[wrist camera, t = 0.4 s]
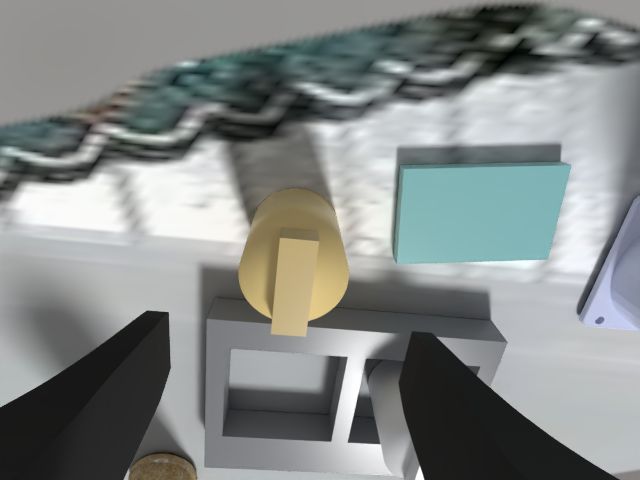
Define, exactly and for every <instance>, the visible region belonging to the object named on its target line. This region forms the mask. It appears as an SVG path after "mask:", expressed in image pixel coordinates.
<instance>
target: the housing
mask: <svg viewBox="0 0 640 480" xmlns="http://www.w3.org/2000/svg"><path fill="white" fill-rule="evenodd" d="M271 326H272V319H271V318H269V317H267V316H265V315H263V314H261V313H260V312H258V311H257V310H256V309H255V308H254V307H252V305H251V304H250V303H249V302H248V301H247V300H239V299H227V298H214V300H213V303H212V306H211V309H210V311H209V314H208V317H207V333H206V398H205V463H204V467H210V468H233V469H256V470H278V471H301V472H324V473H347V474H369V475H392V476H396V475H394V474H393V473H392V472H390V471H389V469H388V468H387V467H386V465H385V462H384V458H383V453H382V449H381V444H380V439H379V434H378V430H377V425H376V420H375V418H371V417H354V411H355V406H356V402H357V397H358V393H359V388H360V384H361V379H362V375H363V370H364V366H365V361H366V358H370V359H384V360H398V361H404V359H405V356H406V352H407V348H408V344H409V341H410V337H411V333H412V331H417V332H430V333H432V334H434V335H435V336H436V337H437V338H438V339H439V340H440V341H441V342H442V343H443V344H444V345H445V346H446V347H447V348H449V349H450V350H451V351H452V352H453V353H454V354H455V355H456V356H457V357H458V358H459V359H460V360H461V361H462V362H463V363H464V364H465V365H466V366H467V367H468V368H469V369H470V370H471V371H472V372H473V373H474V374H476V375H477V376H478V377H479V378H480V379H481V380H482V381H483V382H484V383H485V384H486V385H488V386H489V387H490V386H491V383H492V381H493V378H494V376H495V373H496V371H497V368H498V366H499V363H500V360H501V358H502V355H503V353H504V350H505V348H506V345H507V343H508V342H507V341H506V340H505V338H504V337H503V336H502V334H501V333H500V332H499V330H498V329H497V328H496V326H495V325H494V323H493V322H492V321H491V320H479V319H467V318H455V317H443V316H431V315H419V314H407V313H395V312H383V311H371V310H359V309H347V308H335V307H334V308H333V309H332V310H330V311H329V312H328V313H326V314H324V315H323V316H321V317H319V318H316V319H313V320H310V321H308V325H307V333H306V337H301V336H288V335H275V334H271ZM231 349H245V350H259V351H272V352H286V353H300V354H314V355H328V356H340V359H339V364H338V370H337V375H336V380H335V386H334V391H333V397H332V402H331V407H330V413H329V415H319V414H302V413H285V412H267V411H250V410H232V409H228V396H229V375H230V353H231Z"/></svg>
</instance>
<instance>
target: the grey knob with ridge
mask: <svg viewBox="0 0 640 480" xmlns="http://www.w3.org/2000/svg"><path fill="white" fill-rule="evenodd" d="M403 363H404V361H398V360H383V361H381V362H380V363H379V364H377V365H376V366H375V368H374V369H373V370H372V372H371V374H370V376H369V380H368V387H369V392H370V396H371V401H372V406H373V411H374V415H375V420H376V425H377V430H378V434H379V439H380V444H381V449H382V453H383V458H384V462H385V465H386V467H387V468H388V469H389V471H390V472H392V473H393V474H394V475H396V476H398V477H400V478H402V479H404V480H424V477H423V474H422V471H421V468H420V465H419V462H418V459H417V455H416V452H415V449H414V446H413V443H412V440H411V436H410V433H409V430H408V427H407V423H406V420H405V417H404V412H403V407H402V402H401V396H400V390H399V384H398V382H399V378H400V375H401V371H402V367H403Z"/></svg>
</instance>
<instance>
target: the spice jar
mask: <svg viewBox="0 0 640 480" xmlns="http://www.w3.org/2000/svg"><path fill="white" fill-rule="evenodd" d="M129 480H197V475H196V471H195V469H194V468H193V466H192V465H191V464H190V463H189V462H188V461H186V460H185V459H182V458H180V457H178V456H175V455H170V454H163V453H162V454H154V455H149V456H146V457H144V458H142V459H140V460H138V461H137V462H136V463H135V464H134V466H133V467H132V468H131V471H130V474H129Z"/></svg>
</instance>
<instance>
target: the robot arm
mask: <svg viewBox="0 0 640 480" xmlns="http://www.w3.org/2000/svg"><path fill="white" fill-rule="evenodd" d="M597 318H598V319H597ZM596 319H597V320H596ZM579 320H580V322H582V323H583V324H584V325H585V326H588V327H600V328H612V329H624V330H636V331H640V195H639V196H638V197H637V198H635V200H634V201H633V203H632V205H631V207H630V210H629V212H628V214H627V216H626V218H625V220H624V222H623V225H622V227H621V229H620V231H619V233H618V235H617V237H616V239H615V242H614V244H613V246H612V248H611V250H610V252H609V254H608V257H607V259H606V261H605V263H604V265H603V267H602V269H601V272H600V274H599V276H598V278H597V280H596V282H595V284H594V286H593V289H592V291H591V293H590V295H589V297H588V299H587V301H586V304H585V306H584V308H583V310H582V312H581V314H580V317H579ZM170 368H171V365H170V337H169V312H159V311H146V312H144V313H143V314H141V315H140V316H139V317H138V318H136V319H135V320H134V321H132V322H131V323H130V324H128V325H127V326H126V327H124V328H123V329H122V330H120V331H119V332H118V333H116V334H115V335H114V336H112V337H111V338H110V339H108V340H107V341H106V342H104V343H103V344H101V345H100V346H99V347H97V348H96V349H95V350H93V351H92V352H90V353H89V354H88V355H86V356H85V357H83V358H82V359H80V360H79V361H77V362H76V363H74V364H73V365H71V366H70V367H68V368H67V369H65V370H64V371H62V372H61V373H59V374H58V375H56V376H54V377H53V378H51V379H50V380H48V381H46V382H45V383H43V384H41V385H40V386H38V387H36V388H35V389H33V390H31V391H29V392H27V393H26V394H24V395H22V396H20V397H19V398H17V399H15V400H13V401H11V402H10V403H8V404H6V405H4V406H2V407H0V480H123V479H124V477H125V475H126V473H127V471H128V469H129V466H130V464H131V462H132V460H133V458H134V456H135V454H136V452H137V449H138V447H139V445H140V443H141V441H142V439H143V437H144V435H145V432H146V430H147V428H148V426H149V424H150V422H151V419H152V417H153V415H154V413H155V411H156V409H157V406H158V404H159V402H160V399H161V396H162V393H163V390H164V388H165V384H166V381H167V378H168V375H169V372H170ZM398 384H399V390H400V396H401V402H402V407H403V412H404V417H405V420H406V423H407V427H408V430H409V433H410V436H411V440H412V443H413V446H414V449H415V452H416V455H417V459H418V462H419V465H420V468H421V471H422V474H423V477H424V480H619V479H617V478H615V477H614V476H612V475H610V474H609V473H607V472H605V471H604V470H602V469H601V468H599V467H597V466H596V465H594V464H592V463H591V462H589V461H588V460H586V459H584V458H583V457H581V456H580V455H578V454H577V453H575V452H574V451H572V450H571V449H569V448H568V447H566V446H565V445H563V444H562V443H560V442H559V441H557V440H556V439H554V438H553V437H551V436H550V435H549V434H547V433H546V432H544V431H543V430H542V429H540V428H539V427H538V426H536V425H535V424H534V423H532V422H531V421H530V420H528V419H527V418H526V417H524V416H523V415H522V414H521V413H519V412H518V411H517V410H516V409H514V408H513V407H512V406H511V405H510V404H508V403H507V402H506V401H505V400H504V399H502V398H501V397H500V396H499V395H498V394H497V393H495V392H494V391H493V390H492V389H491V388H490V387H489V386H488V385H486V384H485V383H484V382H483V381H482V380H481V379H480V378H479V377H478V376H477V375H476V374H474V373H473V372H472V371H471V370H470V369H469V368H468V367H467V366H466V365H465V364H464V363H463V362H462V361H461V360H460V359H459V358H458V357H457V356H456V355H455V354H454V353H453V352H452V351H451V350H450V349H449V348H447V347H446V346H445V345H444V344H443V343H442V342H441V341H440V340H439V339H438V338H437V337H436V336H435V335H434V334H432V333H430V332H417V331H412V333H411V337H410V341H409V344H408V348H407V352H406V356H405V359H404V363H403V367H402V371H401V375H400V378H399V382H398Z"/></svg>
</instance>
